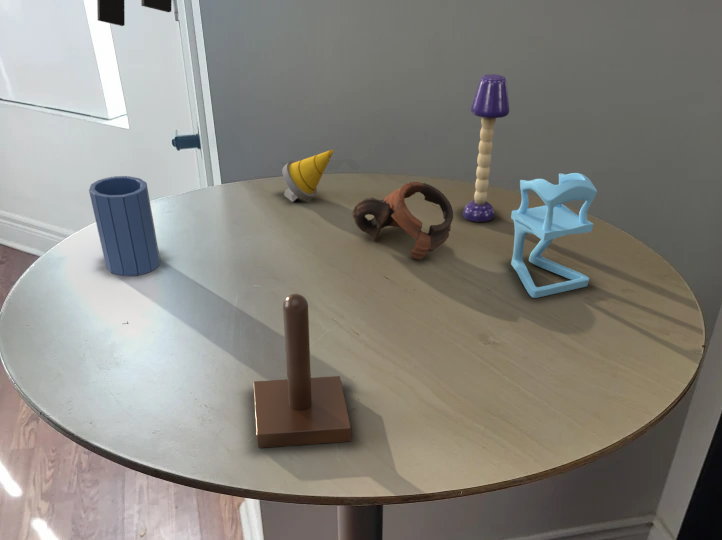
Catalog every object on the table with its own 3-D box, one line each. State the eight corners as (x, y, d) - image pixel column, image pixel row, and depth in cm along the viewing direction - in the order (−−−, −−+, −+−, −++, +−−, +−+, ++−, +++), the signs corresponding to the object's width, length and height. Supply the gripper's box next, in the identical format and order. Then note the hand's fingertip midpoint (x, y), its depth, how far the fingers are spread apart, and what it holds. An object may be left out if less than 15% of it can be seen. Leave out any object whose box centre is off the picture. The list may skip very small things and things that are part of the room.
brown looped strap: (421, 225, 102) (450, 179, 95) (435, 284, 98) (467, 241, 92) (336, 212, 96) (361, 162, 90) (349, 274, 93) (375, 228, 86)
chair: (547, 256, 95) (566, 154, 87) (589, 286, 89) (613, 180, 81) (494, 267, 92) (508, 163, 84) (533, 298, 87) (552, 191, 79)
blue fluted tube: (104, 277, 88) (86, 198, 82) (109, 253, 92) (92, 176, 86) (158, 274, 89) (144, 196, 83) (160, 251, 93) (148, 175, 87)
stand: (258, 448, 66) (245, 323, 58) (254, 394, 72) (242, 274, 64) (351, 441, 67) (351, 318, 59) (340, 388, 73) (339, 269, 65)
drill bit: (296, 189, 110) (345, 144, 104) (300, 218, 108) (351, 175, 102) (267, 170, 106) (316, 123, 100) (270, 201, 104) (321, 155, 98)
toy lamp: (453, 212, 104) (466, 74, 93) (480, 205, 106) (496, 69, 94) (475, 225, 101) (491, 84, 90) (503, 217, 103) (522, 79, 92)
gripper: (226, -279, 65) (217, 11, 73) (127, -189, 84) (127, 35, 91) (139, -322, 61) (138, -9, 69) (54, -218, 80) (61, 20, 87)
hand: (132, 16), depth 80 cm, fingers open, 13 cm apart
